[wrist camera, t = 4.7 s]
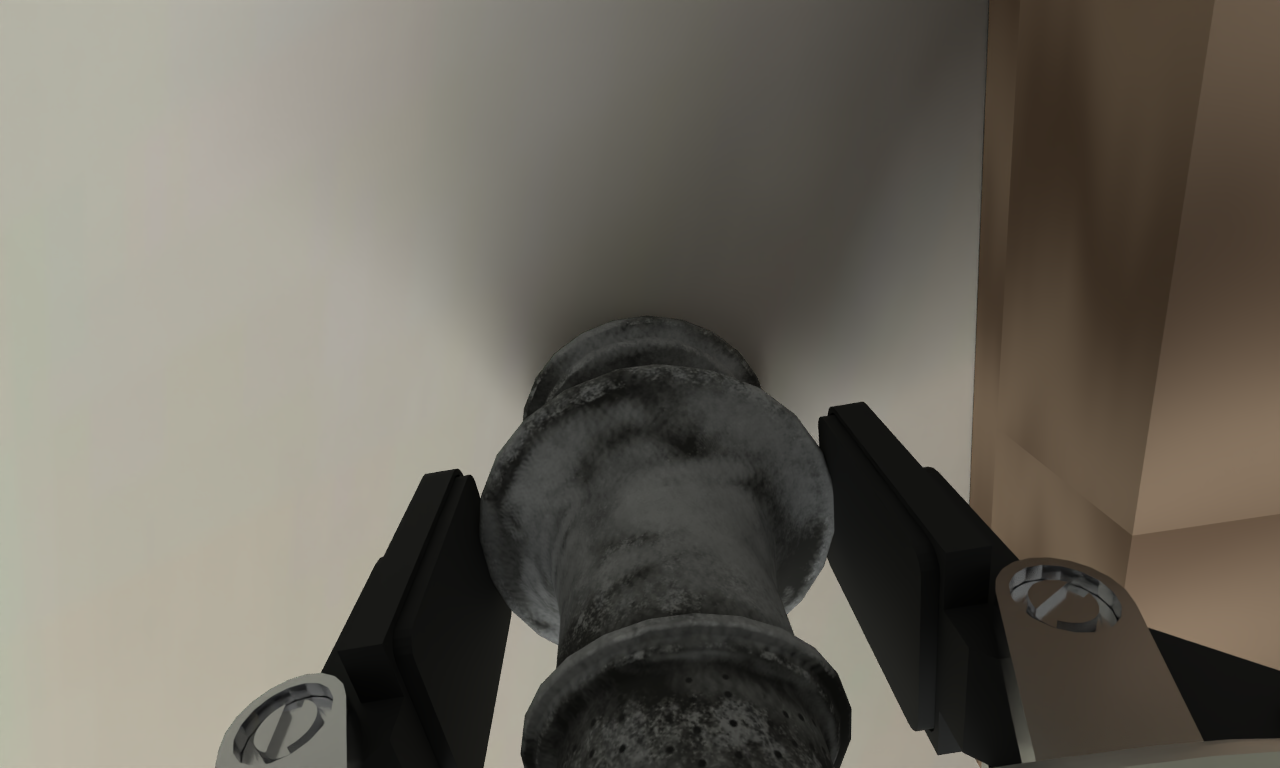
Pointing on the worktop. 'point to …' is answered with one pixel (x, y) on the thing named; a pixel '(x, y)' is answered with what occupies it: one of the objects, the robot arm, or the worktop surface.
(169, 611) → the worktop surface
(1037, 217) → the socket board
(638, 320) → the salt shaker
